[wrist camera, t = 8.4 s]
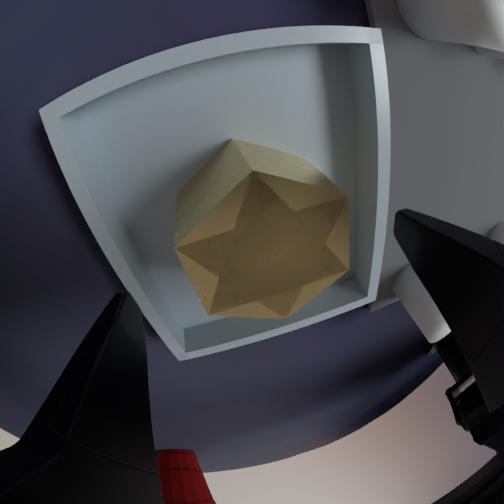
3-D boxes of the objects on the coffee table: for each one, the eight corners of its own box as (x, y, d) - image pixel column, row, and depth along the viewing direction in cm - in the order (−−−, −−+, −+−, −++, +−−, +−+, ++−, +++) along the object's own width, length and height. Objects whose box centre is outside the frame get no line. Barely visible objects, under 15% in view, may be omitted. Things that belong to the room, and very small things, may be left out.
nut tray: (359, 276, 16) (375, 300, 14) (177, 332, 15) (179, 361, 13) (350, 31, 8) (380, 28, 6) (63, 101, 7) (38, 110, 5)
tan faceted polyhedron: (314, 244, 13) (347, 296, 10) (210, 277, 13) (220, 338, 10) (298, 122, 9) (345, 147, 7) (163, 160, 9) (153, 202, 6)
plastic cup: (173, 462, 36) (183, 521, 27) (126, 450, 29) (133, 521, 20) (226, 451, 35) (241, 517, 25) (181, 441, 28) (195, 524, 19)
